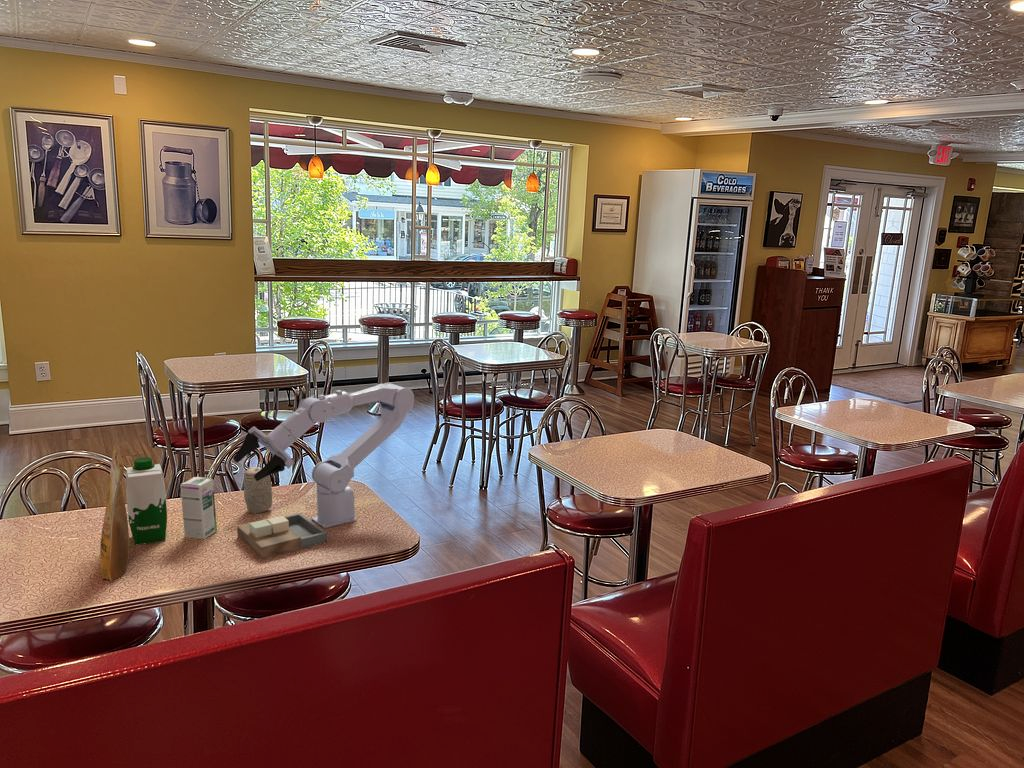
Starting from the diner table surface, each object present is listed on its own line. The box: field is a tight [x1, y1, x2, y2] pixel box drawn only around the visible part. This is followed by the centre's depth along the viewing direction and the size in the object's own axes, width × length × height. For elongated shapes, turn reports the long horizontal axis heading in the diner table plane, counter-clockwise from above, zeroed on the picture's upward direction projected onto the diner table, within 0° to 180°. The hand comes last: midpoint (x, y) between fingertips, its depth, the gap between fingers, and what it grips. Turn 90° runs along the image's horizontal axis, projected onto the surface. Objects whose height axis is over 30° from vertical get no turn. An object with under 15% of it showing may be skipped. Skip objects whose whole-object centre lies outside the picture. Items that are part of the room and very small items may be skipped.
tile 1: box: [248, 519, 272, 538], centre depth 192 cm, size 4×4×2 cm
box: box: [284, 512, 328, 549], centre depth 199 cm, size 7×16×2 cm, turn 39°
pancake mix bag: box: [99, 441, 130, 583], centre depth 176 cm, size 7×19×28 cm, turn 23°
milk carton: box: [125, 457, 168, 546], centre depth 193 cm, size 9×9×20 cm
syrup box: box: [180, 476, 218, 540], centre depth 196 cm, size 6×6×14 cm
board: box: [236, 516, 301, 560], centre depth 194 cm, size 10×16×3 cm, turn 39°
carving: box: [243, 467, 274, 514], centre depth 213 cm, size 6×8×12 cm
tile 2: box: [266, 515, 289, 534], centre depth 195 cm, size 4×4×2 cm
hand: (245, 469), depth 189 cm, fingers open, 7 cm apart
